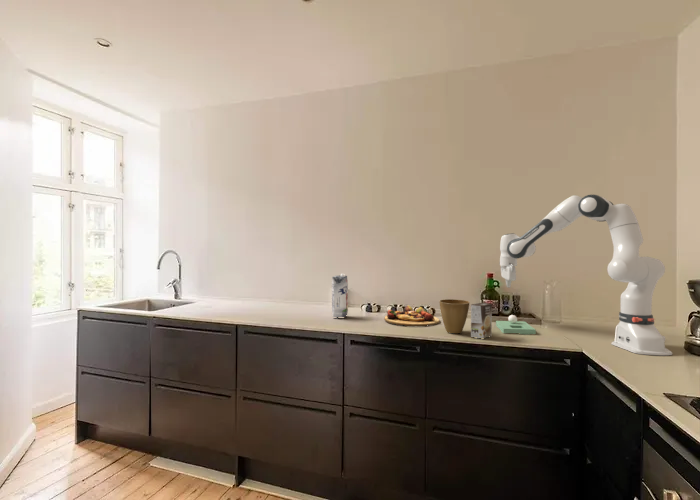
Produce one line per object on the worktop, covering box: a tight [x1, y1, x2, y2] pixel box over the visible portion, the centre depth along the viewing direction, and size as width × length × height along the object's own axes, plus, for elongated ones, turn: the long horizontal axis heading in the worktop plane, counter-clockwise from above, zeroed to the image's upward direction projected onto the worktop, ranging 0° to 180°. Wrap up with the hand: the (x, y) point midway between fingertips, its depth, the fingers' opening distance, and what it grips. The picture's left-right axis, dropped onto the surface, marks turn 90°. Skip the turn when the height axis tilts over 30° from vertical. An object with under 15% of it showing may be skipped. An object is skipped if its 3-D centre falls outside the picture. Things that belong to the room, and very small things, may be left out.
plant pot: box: [438, 298, 470, 334], centre depth 198 cm, size 15×15×16 cm
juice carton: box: [331, 273, 349, 318], centre depth 240 cm, size 9×10×27 cm
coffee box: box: [470, 302, 493, 339], centre depth 188 cm, size 9×6×16 cm
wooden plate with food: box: [383, 305, 441, 327], centre depth 227 cm, size 32×32×8 cm
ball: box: [507, 314, 518, 323], centre depth 207 cm, size 4×4×4 cm
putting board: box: [495, 320, 537, 335], centre depth 203 cm, size 20×15×2 cm
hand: (508, 287), depth 217 cm, fingers closed
